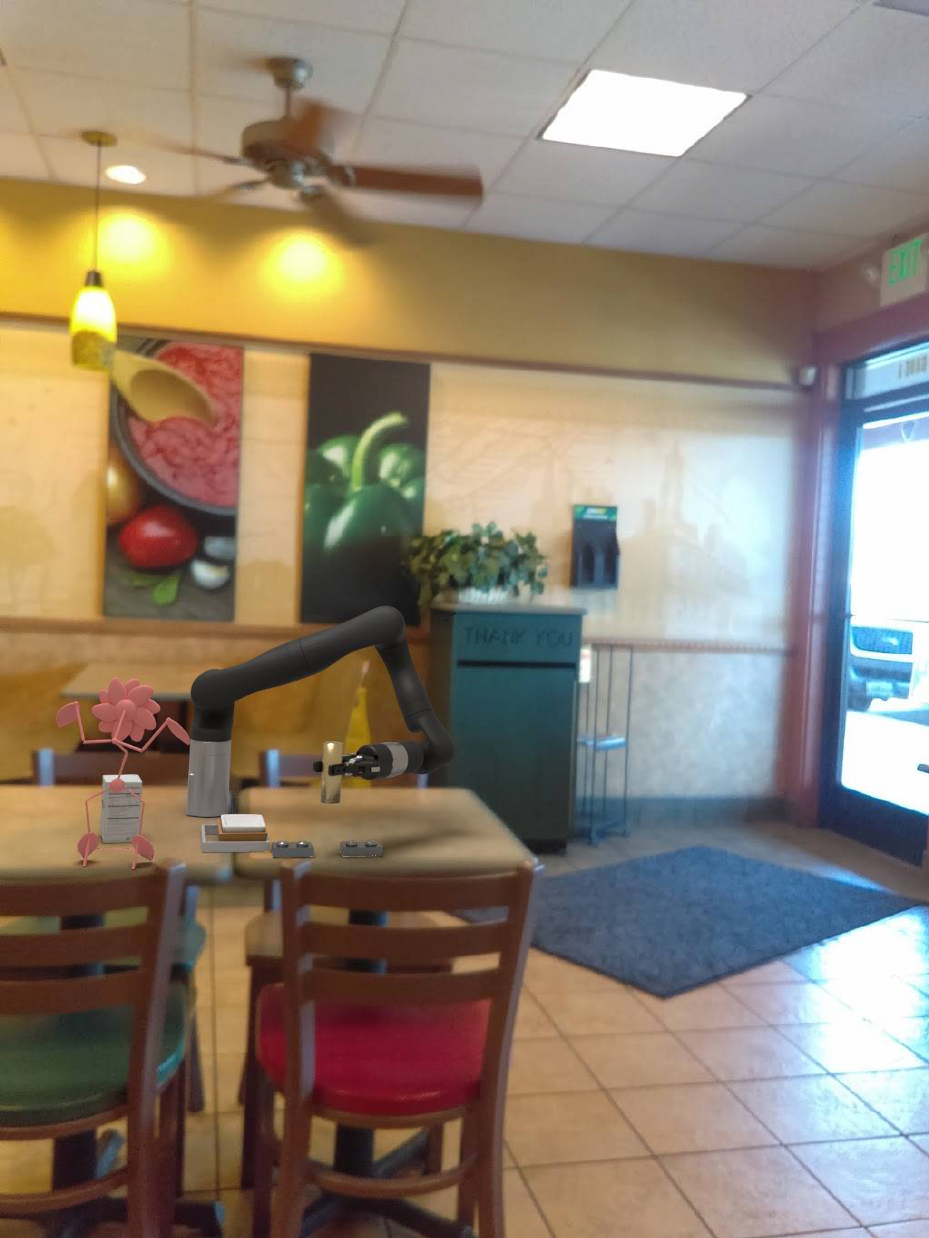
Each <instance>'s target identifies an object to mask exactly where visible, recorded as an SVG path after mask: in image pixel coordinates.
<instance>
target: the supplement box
mask: <svg viewBox="0 0 929 1238" xmlns="http://www.w3.org/2000/svg"><path fill="white" fill-rule="evenodd" d="M118 775H119V774H104V775H102V786H101V787H102V788H101V791H103V790H105V789H107V788H109V787H110V783H111V781H112V780H114V779H116V778H118ZM120 779H121V780H123V781H124V783H125V787H126V788H127V789H128V790H130V791H131V792H132V793H134V794H135V795H137V796H138V797H139V798H141V799H142V800H143V798H142V797H143V781H142V779H141V777H140V776H139V775H138V774H121V776H120ZM142 804H143V802H142V801H140V800H139V799H137V798H136V797H135V796H133V795H132V794H131V793H129V792H128V791H126V790H125V789H123V791H121V792H119V793H115V792H113V791H111V789H109V790H107V791H105V792H103V793H102V794H101V804H100V805H101V806H100V822H99V823H100V827H99V835H100V836H101V838H102V842H103V843H104V844H114V843H115V844H117V843H132V837H133V836H134V835H136V836H137V834H138V835H139V828H140V821H141V813H142Z"/></svg>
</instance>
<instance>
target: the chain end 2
mask: <svg viewBox="0 0 929 1238" xmlns="http://www.w3.org/2000/svg"><path fill="white" fill-rule="evenodd" d="M340 851H341V853H342V855H343V856H372V855H373V856H375V855H376V856H382V857H383V846H382V844H381V843H380V841H377V840H374V839H368V840H365V841H358V840H355V839H354V840H352V839H351V840H350V839H349V840H346V841H340V844H339V852H340ZM341 853H340V854H341ZM342 855H341V856H342ZM343 856H342V857H343Z"/></svg>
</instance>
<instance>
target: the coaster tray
mask: <svg viewBox="0 0 929 1238" xmlns="http://www.w3.org/2000/svg"><path fill="white" fill-rule="evenodd" d="M206 835H219V829H218V823H217V824H216V823H215V824H214V823H213V824H212V823H211V824H209V823H208V824H204V823H203V824H201V831H200V837H201V839H200V840H201V853H250V852H249V851H252V852H251V853H254V852H253V851H258V852H257V853H260V852H259V851H262V852H261V853H265V852H264V851H269V852H270V840H269V839H270V838H269V834H268V835H267V838H266V840H265V841H244V842H221V841H206Z"/></svg>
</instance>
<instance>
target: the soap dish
mask: <svg viewBox="0 0 929 1238" xmlns="http://www.w3.org/2000/svg"><path fill="white" fill-rule="evenodd" d="M217 824H218V829H219V834H218V835H219V837H220V842H244V841H265V840H266V838H267V835H268V836H269V832H268V827H267V825H266V822H265V819H264V816H263V815H262V814H254V813H253V814H251V813H249V814H246V813H245V814H244V813H243V814H242V813H239V814H238V813H236V814H235V813H234V814H233V813H231V814H228V813H227V814H225V815H221V816H220V819H217Z"/></svg>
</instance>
